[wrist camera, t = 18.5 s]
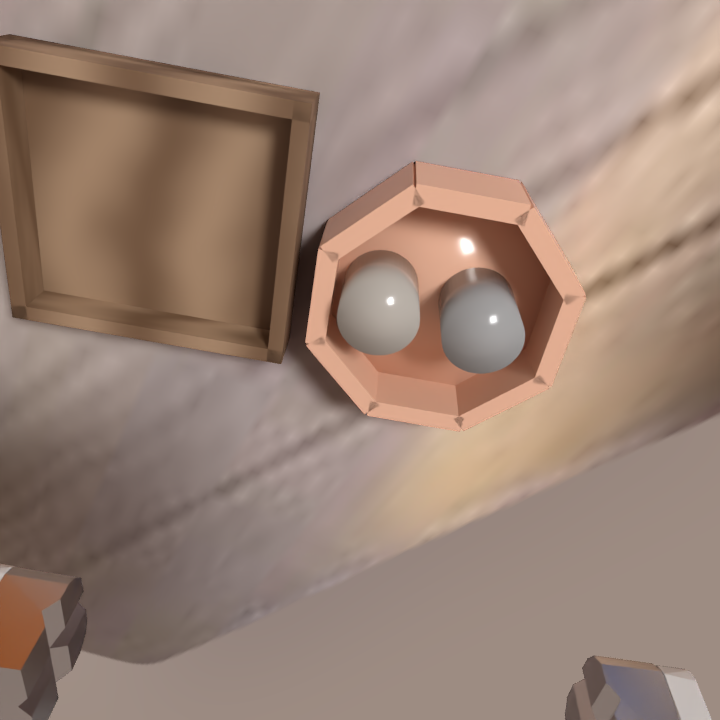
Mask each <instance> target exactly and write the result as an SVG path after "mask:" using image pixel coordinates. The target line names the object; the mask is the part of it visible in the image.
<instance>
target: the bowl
mask: <svg viewBox="0 0 720 720" xmlns="http://www.w3.org/2000/svg"><path fill="white" fill-rule="evenodd" d="M374 250H387V251H392V252H395V253H397V254H399V255H401V256H403V257H404V258H405V259H407V260H408V261H409V262H410V263H411V265H412V266H413V267H414V269H415V271H416V274H417V277H418V283H419V306H420V324H419V329H418V331H417V334H416V336H415V337H414V339H413V340H412V341H411V342H410V343H409V344H408V345H407V346H406V347H405V348H403V349H401V350H400V351H398V352H395V353H392V354H388V355H370V354H366V353H363V352H360V351H358V350H357V349H355V348H353V347H352V346H351V345H350V344H348V343H347V342H346V340H345V339H344V338H343V336H342V335H341V333H340V331H339V328H338V324H337V312H338V307H339V302H340V297H341V292H342V287H343V282H344V277H345V273H346V271H347V269H348V267H349V266H350V264H351V263H352V262H353V261H354V260H355V259H356V258H357V257H359V256H360V255H362V254H364V253H367V252H369V251H374ZM478 267H480V268H487V269H491V270H494V271H496V272H498V273H499V274H501V275H502V276H503V277H504V278H505V279H506V280H507V281H508V282H509V284H510V286H511V288H512V291H513V294H514V297H515V300H516V303H517V307H518V310H519V313H520V316H521V319H522V322H523V326H524V330H525V342H524V346H523V348H522V350H521V352H520V354H519V355H518V357H517V358H516V359H515V360H514V361H513V362H512V363H510V364H509V365H508V366H506V367H505V368H503V369H500V370H498V371H495V372H491V373H485V374H477V373H470V372H467V371H464V370H462V369H460V368H458V367H456V366H455V365H454V364H452V363H451V362H450V361H449V359H448V358H447V357H446V355H445V353H444V351H443V348H442V341H441V330H440V319H439V307H438V299H439V295H440V292H441V289H442V287H443V286H444V284H445V283H446V282H447V281H448V280H449V279H450V278H451V277H452V276H453V275H455V274H456V273H458V272H460V271H463V270H465V269H469V268H478ZM585 295H586V294H585V292H584V290H583V288H582V286H581V284H580V282H579V280H578V278H577V276H576V274H575V273H574V271H573V269H572V267H571V265H570V263H569V261H568V260H567V258H566V256H565V255H564V253H563V251H562V249H561V248H560V246H559V244H558V243H557V241H556V239H555V238H554V236H553V234H552V232H551V231H550V229H549V227H548V226H547V224H546V222H545V221H544V219H543V217H542V216H541V214H540V212H539V210H538V209H537V207H536V205H535V204H534V202H533V200H532V199H531V197H530V195H529V193H528V192H527V190H526V188H525V187H524V185H523V183H522V182H521V183H520V181H519V180H515V179H510V178H504V177H499V176H494V175H488V174H483V173H478V172H472V171H467V170H461V169H456V168H451V167H445V166H440V165H434V164H429V163H424V162H418V161H416V163H415V165H414V163H413V162H411V163H410V164H408V165H407V166H406V167H404V168H403V169H401V170H400V171H398V172H397V173H395V174H394V175H392V176H391V177H389V178H388V179H387V180H385V181H384V182H382V183H381V184H379V185H378V186H376V187H375V188H373V189H372V190H370V191H369V192H368V193H366V194H365V195H363V196H362V197H360V198H359V199H357V200H356V201H354V202H353V203H351V204H350V205H349V206H347V207H346V208H344V209H343V210H341V211H340V212H338V213H337V214H335V215H334V216H332V217H331V218H330V219H328V222H327V223H326V226H325V230H324V233H323V236H322V239H321V242H320V245H319V249H318V255H317V262H316V269H315V276H314V283H313V290H312V298H311V305H310V312H309V319H308V326H307V333H306V340H305V343H307V344H306V346H307V347H308V349H309V350H310V351H311V352H312V353H313V354H314V356H315V357H316V358H317V359H318V360H319V361H320V363H321V364H322V365H323V366H324V367H325V369H326V370H327V371H328V372H329V373H330V374H331V376H332V377H333V378H334V379H335V380H336V381H337V383H338V384H339V385H340V386H341V387H342V389H343V390H344V391H345V392H346V393H347V394H348V396H349V397H350V398H351V399H352V400H353V401H354V403H355V404H356V405H357V406H358V407H359V408H360V410H361V411H362V412H363V413H364V414H366V413H367V416H372V417H378V418H384V419H390V420H395V421H401V422H407V423H413V424H418V425H424V426H430V427H436V428H442V429H447V430H453V431H459V432H460V430H461V429H462V430H463V431H465V430H467V429H469V428H471V427H473V426H475V425H477V424H479V423H481V422H483V421H485V420H487V419H489V418H491V417H493V416H495V415H497V414H499V413H501V412H503V411H505V410H507V409H509V408H511V407H513V406H515V405H517V404H519V403H521V402H523V401H525V400H527V399H529V398H531V397H533V396H535V395H537V394H539V393H541V392H543V391H545V390H547V389H549V386H552V384H553V382H554V379H555V376H556V374H557V371H558V369H559V366H560V364H561V361H562V359H563V356H564V353H565V351H566V348H567V346H568V343H569V341H570V338H571V336H572V333H573V330H574V328H575V325H576V323H577V320H578V318H579V315H580V313H581V310H582V307H583V305H584V302H585V300H586V296H585Z"/></svg>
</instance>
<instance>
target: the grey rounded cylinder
mask: <svg viewBox="0 0 720 720" xmlns="http://www.w3.org/2000/svg"><path fill="white" fill-rule="evenodd" d="M438 307H439V319H440V330H441V341H442V348H443V351H444V353H445V355H446V357H447V358H448V359H449V361H450V362H451V363H452V364H454V365H455V366H456V367H458V368H460V369H462V370H464V371H467V372H470V373H477V374H485V373H491V372H495V371H498V370H500V369H503V368H505V367H506V366H508V365H509V364H510V363H512V362H513V361H514V360H515V359H516V358H517V357H518V355H519V354H520V352H521V350H522V348H523V346H524V342H525V330H524V326H523V322H522V319H521V316H520V313H519V310H518V307H517V303H516V300H515V297H514V294H513V291H512V288H511V286H510V284H509V282H508V281H507V280H506V279H505V278H504V277H503V276H502V275H501V274H499V273H498V272H496V271H494V270H491V269H487V268H480V267H478V268H469V269H465V270H463V271H460V272H458V273H456V274H455V275H453V276H452V277H451V278H450V279H449V280H448V281H447V282H446V283H445V284H444V286H443V287H442V289H441V292H440V295H439V299H438Z"/></svg>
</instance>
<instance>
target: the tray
mask: <svg viewBox="0 0 720 720" xmlns="http://www.w3.org/2000/svg"><path fill="white" fill-rule="evenodd" d="M319 95H320V93H319V92H313V91H308V90H303V89H297V88H292V87H287V86H282V85H276V84H271V83H266V82H260V81H255V80H250V79H244V78H239V77H234V76H228V75H223V74H218V73H212V72H207V71H202V70H197V69H191V68H186V67H181V66H175V65H170V64H165V63H159V62H154V61H149V60H143V59H138V58H133V57H128V56H122V55H117V54H112V53H106V52H101V51H96V50H90V49H85V48H80V47H74V46H69V45H64V44H58V43H53V42H48V41H43V40H37V39H32V38H27V37H21V36H16V35H11V34H8V35H3V36H0V227H1V235H2V242H3V250H4V257H5V264H6V272H7V279H8V286H9V294H10V301H11V309H12V316H13V317H15V318H20V319H26V320H32V321H37V322H43V323H49V324H55V325H60V326H66V327H72V328H78V329H83V330H89V331H95V332H100V333H106V334H112V335H118V336H123V337H129V338H135V339H140V340H146V341H152V342H158V343H163V344H169V345H175V346H181V347H186V348H192V349H198V350H203V351H209V352H215V353H221V354H226V355H232V356H238V357H244V358H249V359H255V360H261V361H266V362H272V363H278V364H281V363H282V360H283V356H284V353H285V350H286V347H287V344H288V341H289V336H290V328H291V320H292V312H293V304H294V296H295V288H296V280H297V272H298V264H299V256H300V248H301V240H302V232H303V224H304V216H305V207H306V199H307V191H308V183H309V175H310V167H311V159H312V151H313V143H314V135H315V127H316V119H317V111H318V103H319Z"/></svg>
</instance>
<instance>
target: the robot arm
mask: <svg viewBox="0 0 720 720" xmlns="http://www.w3.org/2000/svg"><path fill="white" fill-rule="evenodd" d="M83 592H84V591H83V585H82V580H81V578H79V577H74V576H68V575H62V574H56V573H50V572H44V571H38V570H32V569H27V568H21V567H16V566H10V565H4V564H0V720H48V719H49V716H50V714H51V712H52V710H53V708H54V706H55V704H56V702H57V700H58V693H57V687H56V682H57V681H58V680H60V679H61V678H62V677H64V676H65V675H66V674H68V673H69V672H70V671H72V669H73V667H74V665H75V662H76V660H77V658H78V656H79V654H80V651H81V648H82V644H83V641H84V638H85V634H86V626H87V614H86V609H85V608H84V607H83V606H82V605H81V604H80V603H79V602H78V601H79V600H80V598H81V596H82V594H83ZM582 669H583V673H584V678H585V679H583V680H581V681H579V682H577V683H575V684H573V686H572V688H571V690H570V692H569V695H568V697H567V703H566V712H565V719H566V720H712V719H711V717H710V714H709V712H708V709H707V707H706V704H705V702H704V699H703V697H702V694H701V692H700V689H699V687H698V684H697V682H696V680H695V677H694V676H693V675H692V674H691V673H690V671H689V670H685V669H680V668H674V667H666V666H658V665H654V664H652V663H645V662H638V661H631V660H623V659H616V658H609V657H601V656H592V657H590V658H588V659H587V661H586V662H585V664H584V666H583V668H582Z"/></svg>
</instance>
